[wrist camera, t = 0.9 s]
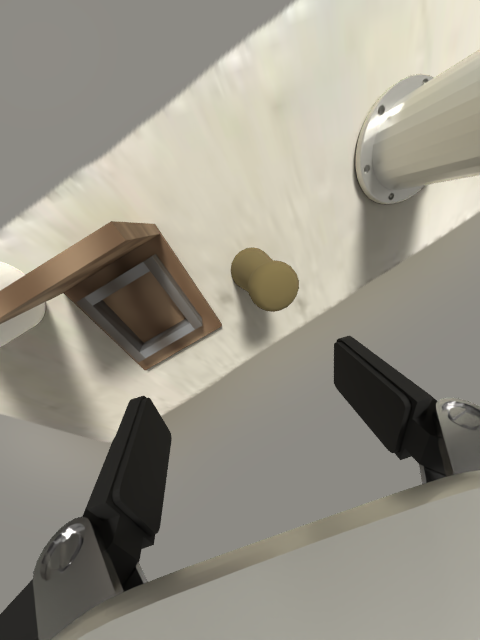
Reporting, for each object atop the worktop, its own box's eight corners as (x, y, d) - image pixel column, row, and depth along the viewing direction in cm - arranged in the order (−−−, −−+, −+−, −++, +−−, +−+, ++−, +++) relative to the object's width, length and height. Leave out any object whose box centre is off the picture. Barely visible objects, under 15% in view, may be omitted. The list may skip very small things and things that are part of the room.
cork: (275, 282, 31) (312, 308, 21) (237, 295, 30) (257, 328, 20) (266, 241, 28) (304, 249, 18) (225, 255, 28) (240, 272, 18)
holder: (154, 224, 24) (111, 221, 12) (221, 323, 32) (237, 385, 19) (59, 282, 25) (-76, 338, 13) (146, 366, 32) (115, 454, 20)
